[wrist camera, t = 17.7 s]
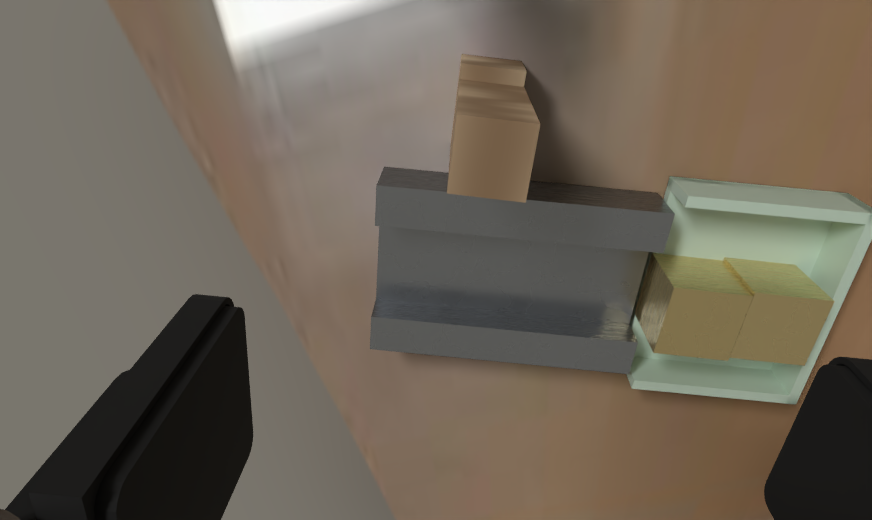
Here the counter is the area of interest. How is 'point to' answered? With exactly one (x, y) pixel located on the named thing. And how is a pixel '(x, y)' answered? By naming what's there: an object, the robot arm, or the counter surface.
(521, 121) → the tan gable carton
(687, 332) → the tan cube
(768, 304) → the chip
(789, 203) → the tray
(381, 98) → the counter surface
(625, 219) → the slot board
